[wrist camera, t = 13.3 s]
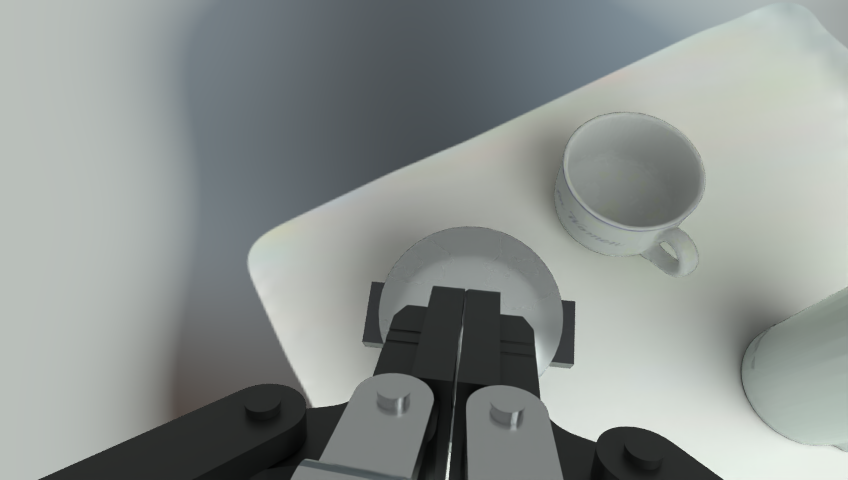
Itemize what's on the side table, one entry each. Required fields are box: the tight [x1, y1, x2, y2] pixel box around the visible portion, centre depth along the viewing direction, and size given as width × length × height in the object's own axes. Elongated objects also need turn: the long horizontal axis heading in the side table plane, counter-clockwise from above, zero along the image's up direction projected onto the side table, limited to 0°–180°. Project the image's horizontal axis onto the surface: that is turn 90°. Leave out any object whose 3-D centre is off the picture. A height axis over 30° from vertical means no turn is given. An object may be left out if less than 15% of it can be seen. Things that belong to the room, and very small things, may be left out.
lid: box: [379, 227, 563, 406], centre depth 39 cm, size 12×12×2 cm
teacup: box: [554, 112, 705, 277], centre depth 49 cm, size 14×11×8 cm
